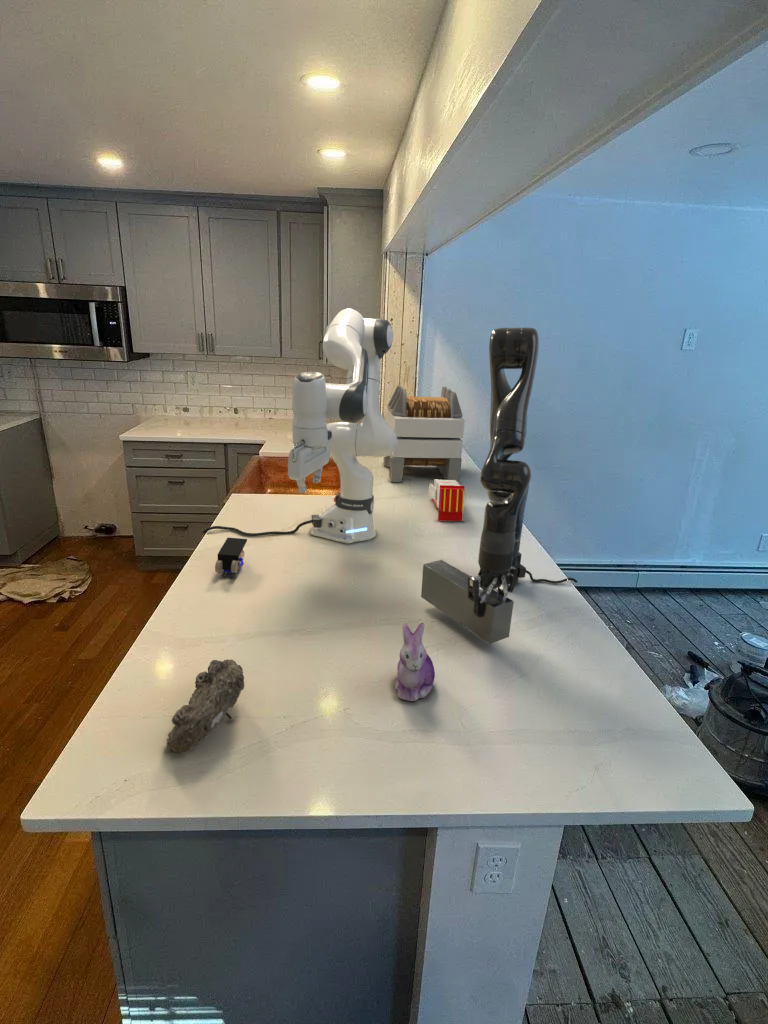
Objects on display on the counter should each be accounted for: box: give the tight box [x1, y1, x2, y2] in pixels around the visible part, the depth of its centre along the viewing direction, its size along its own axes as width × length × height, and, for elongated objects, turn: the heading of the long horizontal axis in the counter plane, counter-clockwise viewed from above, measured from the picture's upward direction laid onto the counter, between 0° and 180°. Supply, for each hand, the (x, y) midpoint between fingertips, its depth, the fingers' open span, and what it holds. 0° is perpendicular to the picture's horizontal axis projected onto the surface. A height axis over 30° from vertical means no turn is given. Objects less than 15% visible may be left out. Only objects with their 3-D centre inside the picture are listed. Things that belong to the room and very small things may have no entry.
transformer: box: [383, 384, 465, 484], centre depth 268 cm, size 34×33×41 cm
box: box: [420, 559, 515, 645], centre depth 140 cm, size 26×6×10 cm, turn 34°
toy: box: [428, 479, 465, 522], centre depth 225 cm, size 12×13×30 cm
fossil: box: [166, 658, 245, 754], centre depth 106 cm, size 22×10×15 cm
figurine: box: [394, 622, 436, 702], centre depth 116 cm, size 9×10×15 cm
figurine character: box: [214, 537, 248, 578], centre depth 166 cm, size 7×8×15 cm
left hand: (309, 487), depth 152 cm, fingers open, 8 cm apart
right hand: (488, 612), depth 133 cm, fingers closed on box, 6 cm apart
